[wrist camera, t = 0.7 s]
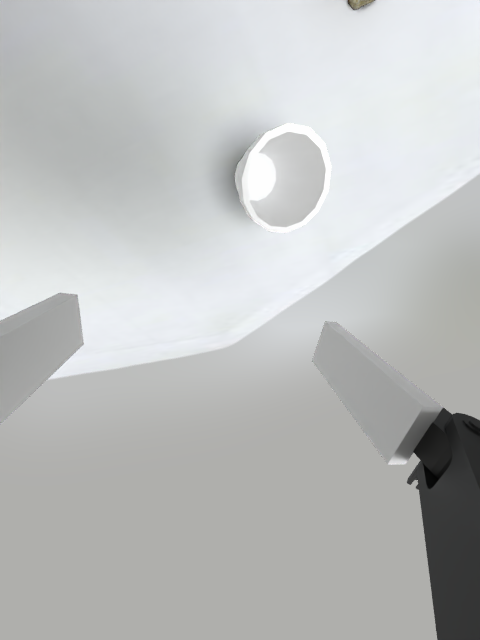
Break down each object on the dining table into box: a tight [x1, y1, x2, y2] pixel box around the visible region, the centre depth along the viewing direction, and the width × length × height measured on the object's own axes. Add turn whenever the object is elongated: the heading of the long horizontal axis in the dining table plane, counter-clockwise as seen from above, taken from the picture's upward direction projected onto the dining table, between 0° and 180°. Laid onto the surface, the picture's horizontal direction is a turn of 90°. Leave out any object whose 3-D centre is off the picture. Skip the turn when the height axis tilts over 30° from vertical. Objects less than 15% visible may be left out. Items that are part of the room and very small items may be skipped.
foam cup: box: [235, 123, 332, 233], centre depth 28 cm, size 10×9×13 cm
